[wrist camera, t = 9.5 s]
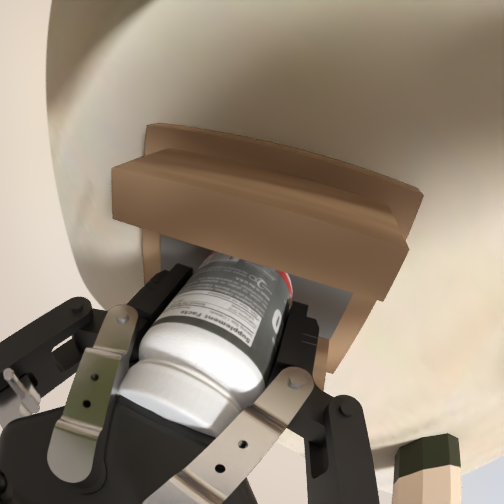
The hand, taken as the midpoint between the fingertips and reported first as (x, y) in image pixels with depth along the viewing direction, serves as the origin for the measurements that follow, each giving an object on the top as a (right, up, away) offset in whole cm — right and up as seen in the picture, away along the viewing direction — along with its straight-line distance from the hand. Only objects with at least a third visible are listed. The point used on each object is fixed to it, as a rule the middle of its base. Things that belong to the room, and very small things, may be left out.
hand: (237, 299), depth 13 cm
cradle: (+1, +2, +3) cm, 4 cm away
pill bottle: (0, +1, +1) cm, 2 cm away
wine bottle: (+21, -21, +10) cm, 32 cm away
